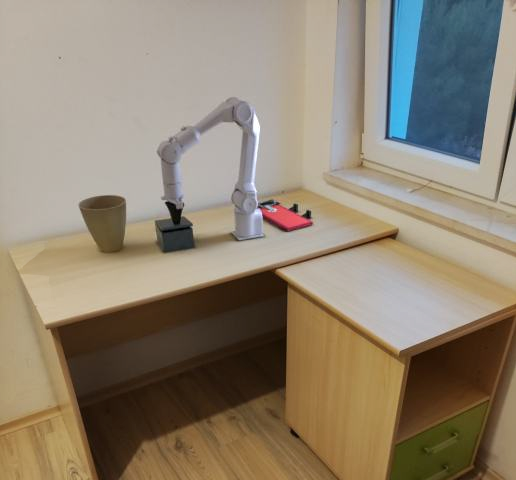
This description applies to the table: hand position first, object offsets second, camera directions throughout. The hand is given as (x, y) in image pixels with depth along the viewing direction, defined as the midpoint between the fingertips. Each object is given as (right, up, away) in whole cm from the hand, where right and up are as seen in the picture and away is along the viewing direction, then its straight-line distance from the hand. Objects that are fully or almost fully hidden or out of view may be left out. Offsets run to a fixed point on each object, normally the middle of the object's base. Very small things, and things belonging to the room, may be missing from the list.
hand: (176, 223), depth 166 cm
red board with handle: (+36, +10, +29) cm, 47 cm away
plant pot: (-23, -7, +5) cm, 25 cm away
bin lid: (-1, 0, +2) cm, 3 cm away
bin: (-2, -6, +7) cm, 9 cm away
